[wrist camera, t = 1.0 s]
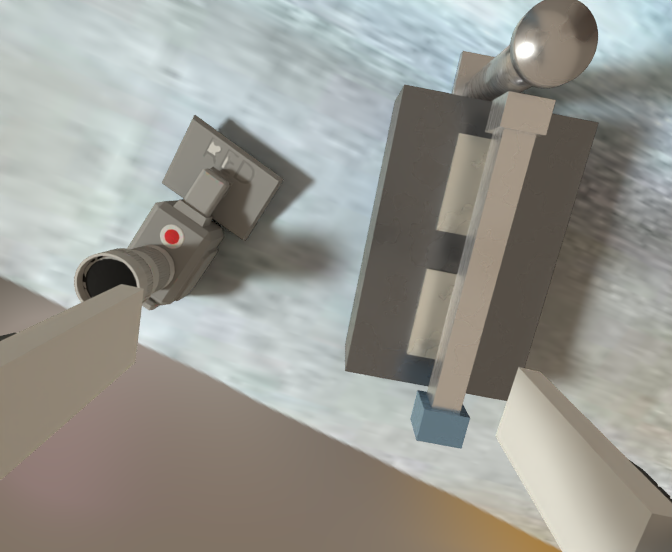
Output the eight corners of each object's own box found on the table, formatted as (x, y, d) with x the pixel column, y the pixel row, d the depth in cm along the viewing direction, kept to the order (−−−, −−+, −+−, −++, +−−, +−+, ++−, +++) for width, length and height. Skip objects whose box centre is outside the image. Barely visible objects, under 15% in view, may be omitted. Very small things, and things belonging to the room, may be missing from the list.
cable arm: (489, 99, 28) (505, 90, 25) (538, 109, 28) (559, 100, 25) (410, 418, 33) (416, 440, 30) (451, 426, 33) (461, 448, 30)
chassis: (394, 100, 36) (405, 83, 30) (557, 132, 36) (601, 121, 30) (345, 344, 41) (345, 373, 34) (489, 370, 41) (515, 404, 35)
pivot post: (460, 54, 35) (524, -19, 23) (520, 65, 35) (616, 0, 23) (446, 117, 36) (498, 81, 24) (503, 128, 36) (587, 99, 24)
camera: (23, 287, 28) (141, 87, 25) (117, 259, 39) (204, 119, 37) (138, 361, 29) (263, 175, 26) (197, 312, 40) (287, 180, 38)
